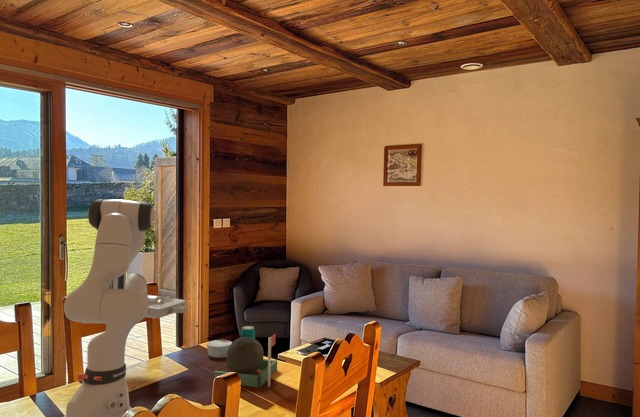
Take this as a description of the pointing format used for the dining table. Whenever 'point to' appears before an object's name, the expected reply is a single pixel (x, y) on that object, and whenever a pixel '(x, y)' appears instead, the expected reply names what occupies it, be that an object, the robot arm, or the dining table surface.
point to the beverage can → (248, 332)
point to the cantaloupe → (244, 356)
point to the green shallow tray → (266, 365)
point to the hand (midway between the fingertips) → (184, 310)
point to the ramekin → (218, 348)
